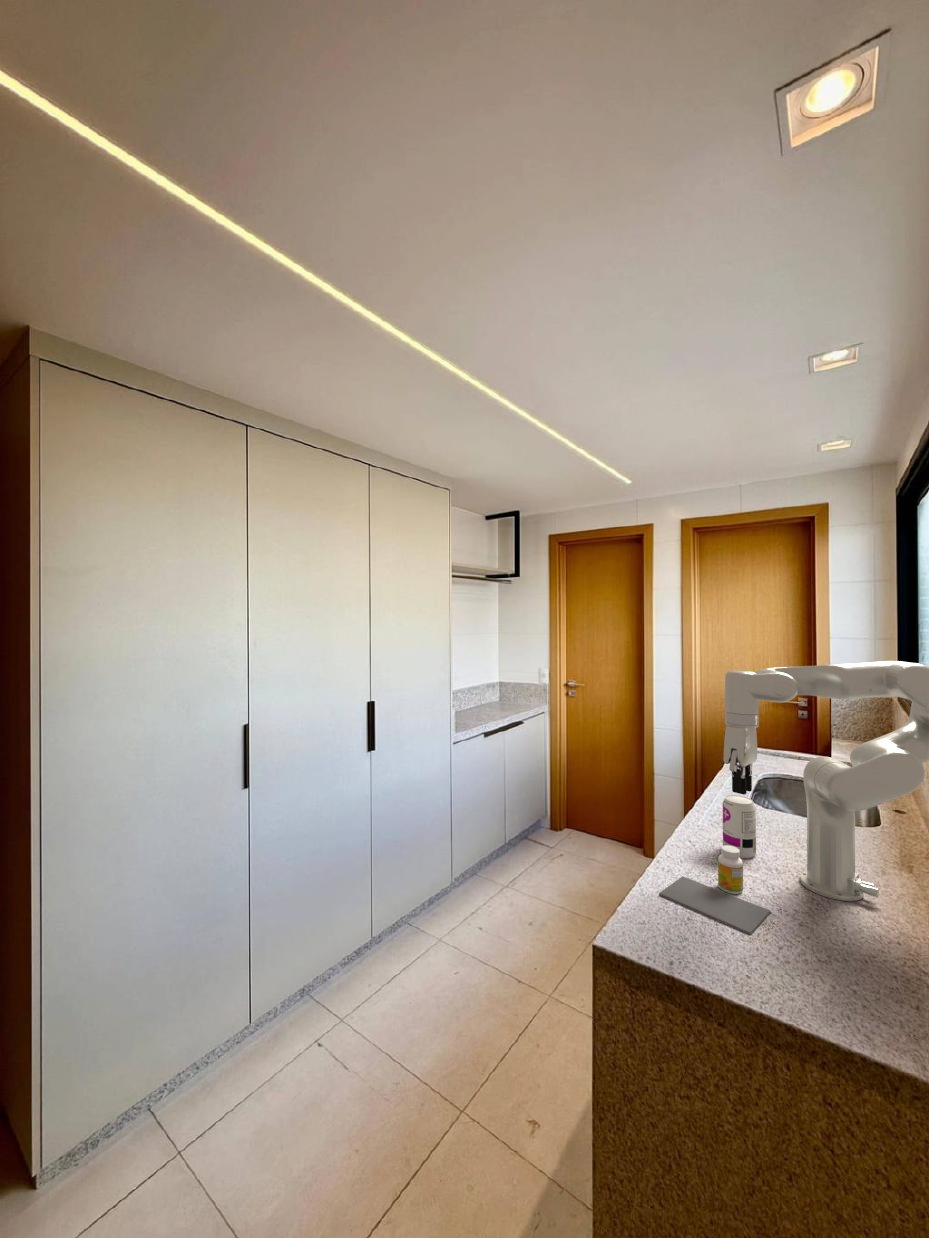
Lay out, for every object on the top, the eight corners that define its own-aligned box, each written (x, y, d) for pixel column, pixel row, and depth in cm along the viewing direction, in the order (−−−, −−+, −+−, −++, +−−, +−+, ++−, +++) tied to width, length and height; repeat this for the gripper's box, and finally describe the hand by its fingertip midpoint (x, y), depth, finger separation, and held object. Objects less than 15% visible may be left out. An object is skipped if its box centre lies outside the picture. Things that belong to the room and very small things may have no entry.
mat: (770, 912, 111) (770, 910, 111) (750, 935, 103) (750, 932, 103) (682, 878, 126) (682, 876, 126) (659, 895, 118) (659, 892, 118)
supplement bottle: (713, 883, 124) (713, 844, 124) (734, 882, 124) (733, 843, 124) (726, 895, 118) (726, 854, 118) (748, 894, 119) (748, 853, 119)
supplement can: (724, 856, 138) (724, 802, 138) (721, 844, 145) (721, 792, 145) (758, 861, 135) (758, 806, 135) (753, 848, 142) (753, 796, 142)
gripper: (738, 713, 134) (738, 781, 134) (712, 721, 124) (713, 795, 124) (769, 717, 129) (769, 788, 129) (745, 726, 118) (745, 803, 118)
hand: (741, 790), depth 126 cm, fingers open, 2 cm apart
